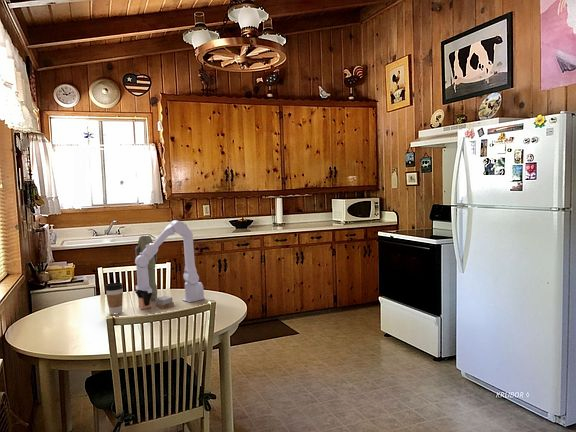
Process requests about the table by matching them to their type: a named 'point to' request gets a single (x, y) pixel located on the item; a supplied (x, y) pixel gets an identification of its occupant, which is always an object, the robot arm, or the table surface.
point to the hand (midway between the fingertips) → (144, 304)
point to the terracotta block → (141, 303)
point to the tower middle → (163, 300)
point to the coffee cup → (114, 297)
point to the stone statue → (151, 266)
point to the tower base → (164, 305)
